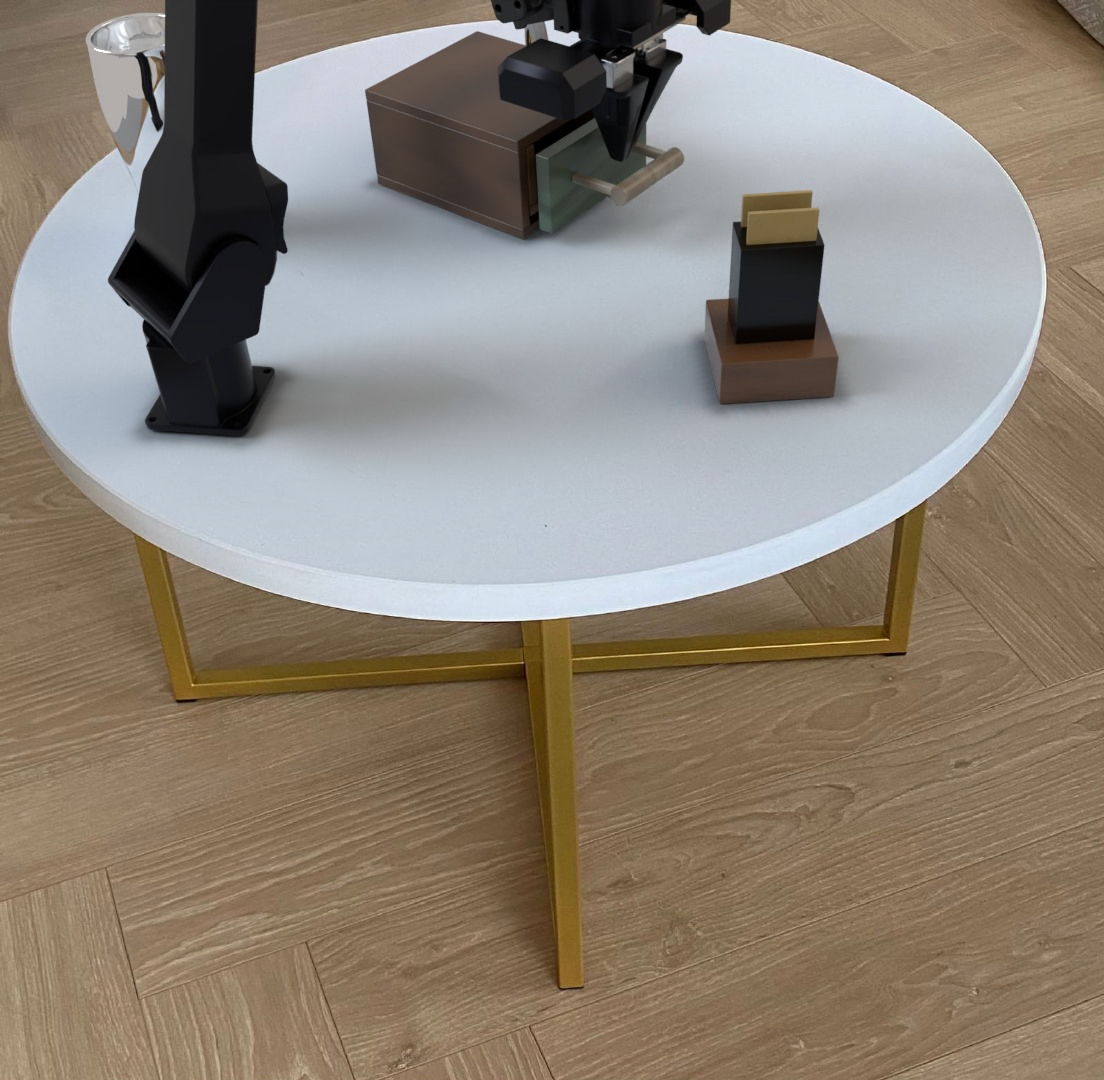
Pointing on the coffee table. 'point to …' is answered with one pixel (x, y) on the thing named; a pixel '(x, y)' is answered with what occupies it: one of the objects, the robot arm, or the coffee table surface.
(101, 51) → the silver metal cup
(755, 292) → the black toaster with toast
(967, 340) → the coffee table surface
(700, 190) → the coffee table surface
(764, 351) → the stand
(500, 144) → the cabinet
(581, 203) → the drawer
